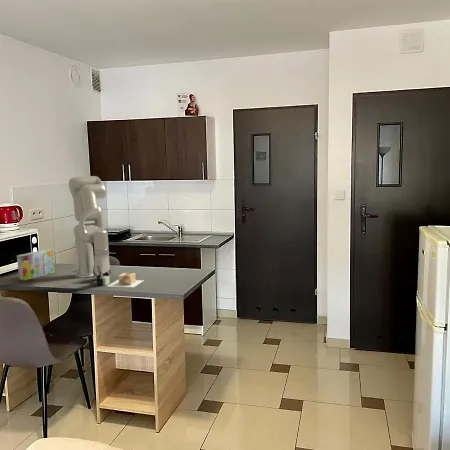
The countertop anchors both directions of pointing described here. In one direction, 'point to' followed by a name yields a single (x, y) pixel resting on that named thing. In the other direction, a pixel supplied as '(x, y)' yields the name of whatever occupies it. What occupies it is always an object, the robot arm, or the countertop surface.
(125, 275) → the oak block
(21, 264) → the snack box
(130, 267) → the countertop surface
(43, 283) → the countertop surface
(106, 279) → the sage cube
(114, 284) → the building board
